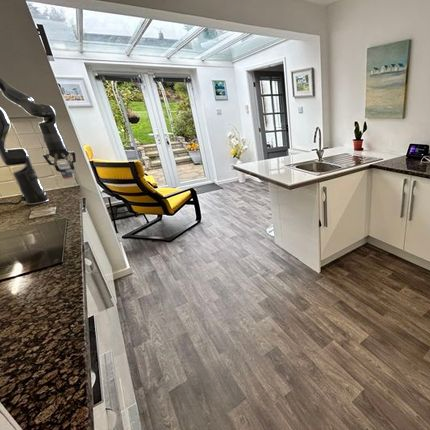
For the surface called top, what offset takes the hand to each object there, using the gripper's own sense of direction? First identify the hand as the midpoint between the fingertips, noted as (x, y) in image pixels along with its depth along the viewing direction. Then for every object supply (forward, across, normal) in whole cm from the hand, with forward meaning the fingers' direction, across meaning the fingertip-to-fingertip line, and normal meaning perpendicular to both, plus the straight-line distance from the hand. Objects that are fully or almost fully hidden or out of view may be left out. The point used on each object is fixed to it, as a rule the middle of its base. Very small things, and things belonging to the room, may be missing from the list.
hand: (66, 170), depth 155 cm
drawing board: (+20, +15, +11) cm, 27 cm away
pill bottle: (+5, 0, 0) cm, 5 cm away
